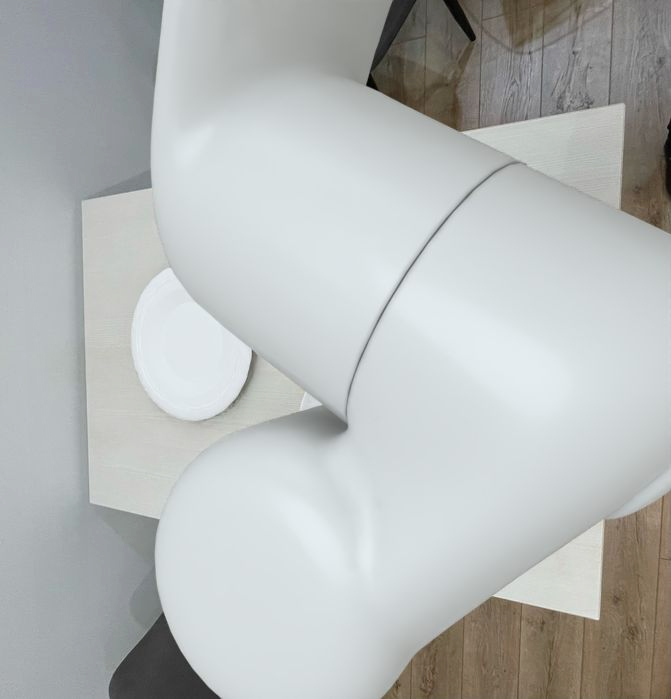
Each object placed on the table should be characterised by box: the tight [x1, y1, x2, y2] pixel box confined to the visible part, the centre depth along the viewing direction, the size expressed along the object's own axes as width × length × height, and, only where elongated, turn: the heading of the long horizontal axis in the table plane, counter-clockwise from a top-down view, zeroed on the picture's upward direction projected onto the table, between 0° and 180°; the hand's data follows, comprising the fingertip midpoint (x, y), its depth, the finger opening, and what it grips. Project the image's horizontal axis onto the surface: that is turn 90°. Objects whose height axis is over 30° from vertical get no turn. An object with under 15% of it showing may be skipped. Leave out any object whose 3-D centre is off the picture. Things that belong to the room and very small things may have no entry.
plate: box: [130, 266, 253, 422], centre depth 86 cm, size 25×25×2 cm
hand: (496, 405), depth 40 cm, fingers closed
